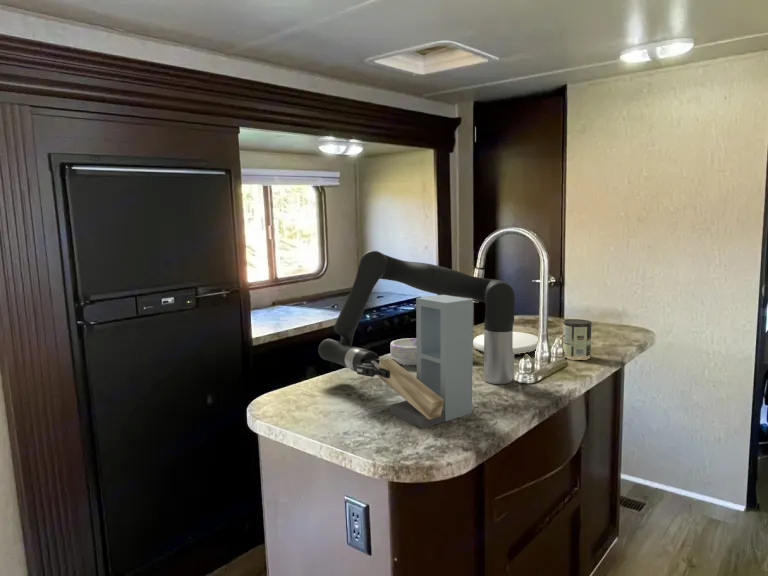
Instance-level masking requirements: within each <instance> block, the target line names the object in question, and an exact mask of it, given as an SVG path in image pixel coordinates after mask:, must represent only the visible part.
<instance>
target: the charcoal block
mask: <svg viewBox="0 0 768 576" xmlns="http://www.w3.org/2000/svg"><path fill="white" fill-rule="evenodd" d="M390 414H391V415H392V416H395V417H397V418H398V419H400V420H404V421H405V422H407V423H410V424H412V425H415V426H417V427H419V428H421V429H425V428H428V427H431V426H435V425H437V424H438V425H439V424H441V423H444V422H445V421H444V413H443V412H441V416H440V417H437V418H433V419H430V420H429V419H428V418H426V417H425V416H424V415H423V414H422V413H421V412H419V411H418V410H417V409H416V408H415V407H413V406H412V405H411V404H410V403H409V402H408V401H406V400H403V401H399V402H396V403H392V404H389V415H390Z"/></svg>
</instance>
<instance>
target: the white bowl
mask: <svg viewBox="0 0 768 576" xmlns="http://www.w3.org/2000/svg"><path fill="white" fill-rule="evenodd" d="M389 347H390V356H391V357H392V358H393V359H395V360H396V361H398V362H399V363H400V365H401V364H402V366H408V365H412V366H417V350H416V337H415V338H414V337H411V338H410V337H409V338H408V337H407V338H400V339H396V340H392V341H391V342H390V346H389Z"/></svg>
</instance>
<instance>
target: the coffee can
mask: <svg viewBox="0 0 768 576" xmlns="http://www.w3.org/2000/svg"><path fill="white" fill-rule="evenodd" d="M562 324H563V325H562V326H563V328H562V329H563V332H562V333H563V335H565V337H564V338H562V350H563V349H564V352H565V354H566V355H568V356H577V357H579V356H588V355H590V356H591V346H592V325H593V322H592V321H590V320H588V319H587V320H586V319H578V318H577V319H576V318H574V319H573V318H571V319H565V320H563V322H562ZM563 335H562V336H563Z"/></svg>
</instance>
